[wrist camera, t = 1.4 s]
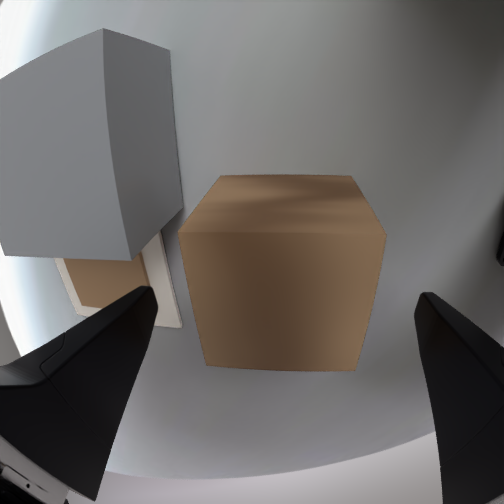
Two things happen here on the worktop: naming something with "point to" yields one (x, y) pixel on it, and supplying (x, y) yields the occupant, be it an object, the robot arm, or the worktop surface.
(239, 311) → the brown wooden cube
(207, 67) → the worktop surface
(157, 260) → the tile
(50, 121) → the grey block
